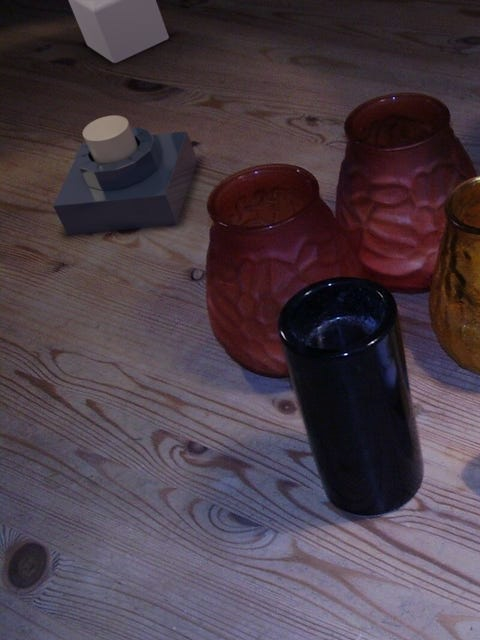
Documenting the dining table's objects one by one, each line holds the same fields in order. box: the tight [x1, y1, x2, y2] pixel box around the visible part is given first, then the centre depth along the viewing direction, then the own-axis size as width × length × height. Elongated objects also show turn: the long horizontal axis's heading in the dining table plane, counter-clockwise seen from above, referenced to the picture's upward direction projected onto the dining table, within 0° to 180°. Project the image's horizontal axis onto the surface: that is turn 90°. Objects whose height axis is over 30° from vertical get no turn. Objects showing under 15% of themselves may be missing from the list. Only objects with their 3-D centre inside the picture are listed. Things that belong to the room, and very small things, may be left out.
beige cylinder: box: [82, 114, 138, 164], centre depth 88 cm, size 4×4×3 cm
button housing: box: [52, 126, 198, 236], centre depth 91 cm, size 10×10×6 cm
